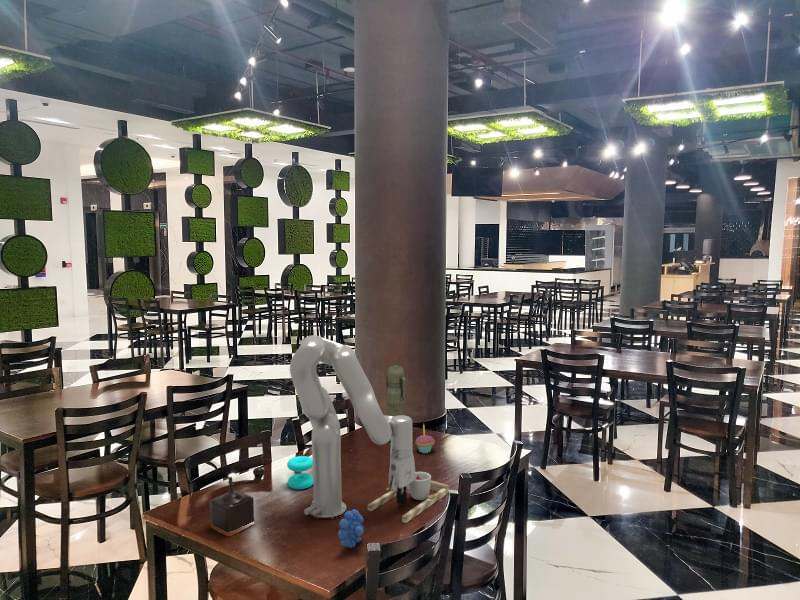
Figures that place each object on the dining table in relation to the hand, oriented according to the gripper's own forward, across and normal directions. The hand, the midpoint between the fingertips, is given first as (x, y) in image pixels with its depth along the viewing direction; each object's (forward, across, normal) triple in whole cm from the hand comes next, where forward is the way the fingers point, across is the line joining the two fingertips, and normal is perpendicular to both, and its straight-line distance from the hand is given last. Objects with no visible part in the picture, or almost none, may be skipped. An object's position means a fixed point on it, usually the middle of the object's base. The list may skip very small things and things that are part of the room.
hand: (401, 502), depth 198 cm
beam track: (+1, +5, +2) cm, 5 cm away
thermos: (+1, +56, +41) cm, 69 cm away
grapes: (+2, -31, -4) cm, 31 cm away
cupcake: (+1, +49, +21) cm, 54 cm away
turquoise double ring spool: (+2, -6, +42) cm, 42 cm away
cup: (+1, +8, -1) cm, 9 cm away
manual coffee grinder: (+2, -40, +38) cm, 54 cm away
